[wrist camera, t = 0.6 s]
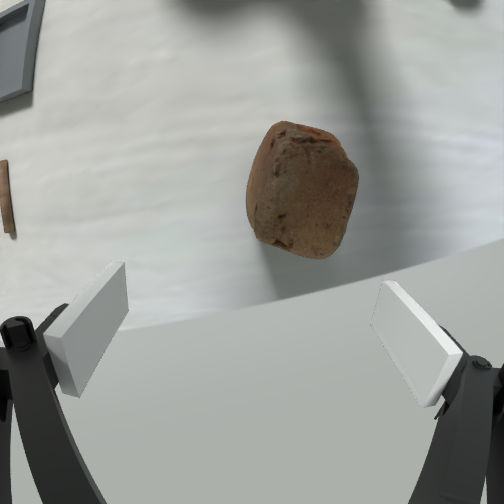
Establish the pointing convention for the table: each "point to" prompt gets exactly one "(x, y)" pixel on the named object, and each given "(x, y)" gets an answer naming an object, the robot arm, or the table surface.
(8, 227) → the walnut dowel
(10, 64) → the grey tray
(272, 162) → the block
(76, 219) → the table surface
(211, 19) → the table surface
